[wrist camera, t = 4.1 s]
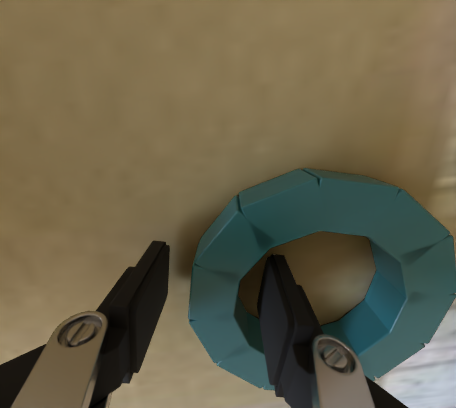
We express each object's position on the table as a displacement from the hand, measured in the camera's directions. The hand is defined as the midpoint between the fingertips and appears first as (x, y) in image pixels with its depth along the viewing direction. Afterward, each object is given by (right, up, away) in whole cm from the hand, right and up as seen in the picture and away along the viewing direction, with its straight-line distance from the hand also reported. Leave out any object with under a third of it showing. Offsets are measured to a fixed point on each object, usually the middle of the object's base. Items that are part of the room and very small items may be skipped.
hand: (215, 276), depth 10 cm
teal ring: (+4, 0, +1) cm, 5 cm away
